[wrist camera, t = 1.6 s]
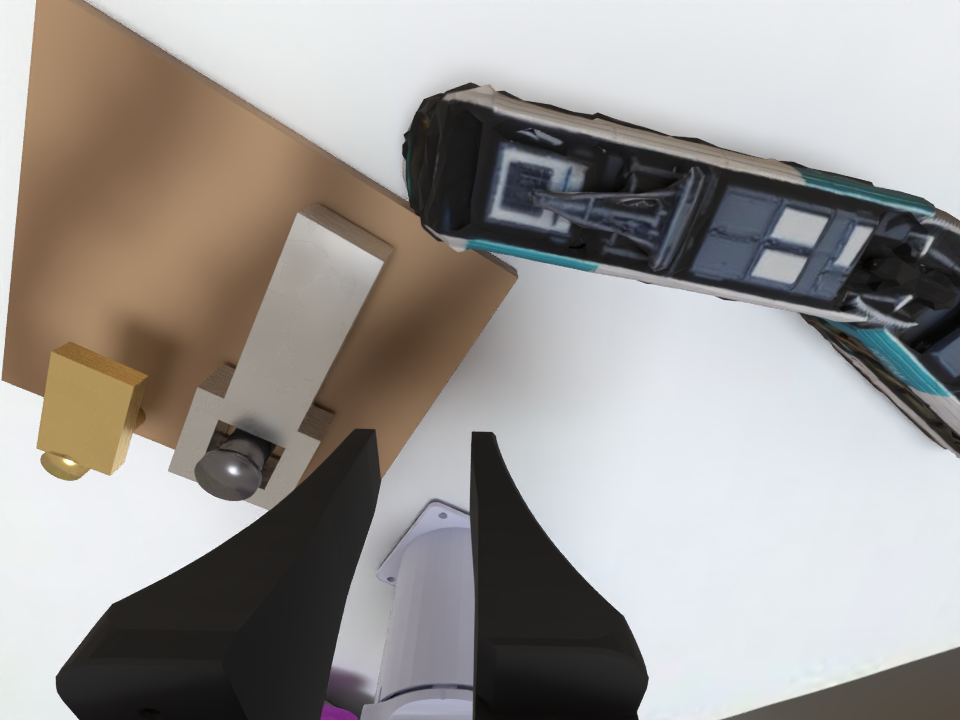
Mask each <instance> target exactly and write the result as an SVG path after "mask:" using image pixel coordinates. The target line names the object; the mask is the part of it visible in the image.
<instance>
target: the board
mask: <svg viewBox="0 0 960 720" xmlns="http://www.w3.org/2000/svg"><path fill="white" fill-rule="evenodd" d="M317 203H318V204H320V205H322V206H323V207H325V208H327V209H328V210H330V211H332V212H334V213H335V214H337V215H339V216H340V217H342V218H344V219H346V220H347V221H349V222H351V223H352V224H354V225H356V226H357V227H359V228H361V229H363V230H364V231H366V232H368V233H369V234H371V235H373V236H375V237H376V238H378V239H380V240H381V241H383V242H385V243H386V244H388V245H390V246H392V247H393V248H394V250H393V252H392V254H391V256H390V258H389V260H388V262H387V263H386V265H385V267H384V269H383V271H382V273H381V275H380V277H379V279H378V281H377V283H376V285H375V287H374V289H373V290H372V292H371V294H370V296H369V298H368V300H367V302H366V304H365V306H364V308H363V310H362V312H361V314H360V316H359V317H358V319H357V321H356V323H355V325H354V327H353V329H352V331H351V333H350V335H349V337H348V339H347V341H346V343H345V344H344V346H343V348H342V350H341V352H340V354H339V356H338V358H337V360H336V362H335V364H334V366H333V368H332V370H331V371H330V373H329V375H328V377H327V379H326V381H325V383H324V385H323V387H322V389H321V391H320V393H319V395H318V397H317V398H316V400H315V402H314V404H313V405H314V406H316V407H318V408H320V409H323V410H325V411H327V412H329V413H331V414H333V415H334V417H333V419H332V421H331V423H330V425H329V427H328V429H327V431H326V433H325V434H324V436H323V438H322V440H321V442H320V444H319V446H318V448H317V449H316V451H315V453H314V455H313V456H312V458H311V460H310V462H309V464H308V465H307V467H306V469H305V471H304V473H303V474H302V476H301V478H300V480H299V482H298V483H297V485H296V487H297V486H298V485H299V484H301V483H302V482H303V481H304V480H305V479H306V478H307V477H308V476H309V475H310V474H311V473H312V472H313V471H314V470H315V469H316V468H317V467H318V466H319V465H320V464H321V463H322V462H323V461H324V460H325V459H326V458H327V457H328V456H329V455H330V454H331V453H332V452H333V451H334V450H335V449H336V448H337V447H338V446H339V445H340V444H341V443H342V441H343V440H344V439H345V438H346V437H347V436H348V435H349V434H350V433H351V432H352V431H353V430H354V429H355V428H357V429H376V438H377V447H378V456H379V465H380V474H381V479H382V477H383V476H384V475H385V473H386V472H387V470H388V469H389V467H390V466H391V464H392V463H393V461H394V460H395V458H396V457H397V455H398V454H399V452H400V451H401V449H402V448H403V447H404V445H405V444H406V442H407V441H408V439H409V438H410V436H411V435H412V433H413V432H414V430H415V429H416V427H417V426H418V424H419V423H420V422H421V420H422V419H423V417H424V416H425V414H426V413H427V411H428V410H429V408H430V407H431V405H432V404H433V402H434V401H435V399H436V398H437V397H438V395H439V394H440V392H441V391H442V389H443V388H444V386H445V385H446V383H447V382H448V380H449V379H450V377H451V376H452V374H453V373H454V372H455V370H456V369H457V367H458V366H459V364H460V363H461V361H462V360H463V358H464V357H465V355H466V354H467V352H468V351H469V349H470V348H471V346H472V345H473V344H474V342H475V341H476V339H477V338H478V336H479V335H480V333H481V332H482V330H483V329H484V327H485V326H486V324H487V323H488V321H489V320H490V319H491V317H492V316H493V314H494V313H495V311H496V310H497V308H498V307H499V305H500V304H501V302H502V301H503V299H504V298H505V296H506V295H507V294H508V292H509V291H510V289H511V288H512V286H513V285H514V283H515V282H516V280H517V279H518V275H517V271H516V269H514V268H513V267H511V266H510V265H508V264H506V263H505V262H503V261H502V260H500V259H498V258H497V257H495V256H494V255H492V254H490V253H489V252H487V251H484V250H477V249H469V250H465V251H462V252H457V251H455V250H454V249H452V248H451V247H450V246H448V245H447V244H446V243H445V242H439V241H437V240H436V239H434V238H433V237H432V236H431V235H430V234H429V233H427V232H426V231H425V230H424V229H423V228H422V226H421V220H420V217H419V216H417V215H415V211H414V209H413V208H411V207H410V203H408V202H407V201H405V200H403V199H402V198H400V197H399V196H397V195H395V194H394V193H392V192H391V191H389V190H387V189H386V188H384V187H382V186H381V185H379V184H378V183H376V182H374V181H373V180H371V179H370V178H368V177H366V176H365V175H363V174H362V173H360V172H358V171H357V170H355V169H353V168H352V167H350V166H349V165H347V164H345V163H344V162H342V161H341V160H339V159H337V158H336V157H334V156H333V155H331V154H329V153H328V152H326V151H325V150H323V149H321V148H320V147H318V146H316V145H315V144H313V143H312V142H310V141H308V140H307V139H305V138H304V137H302V136H300V135H299V134H297V133H296V132H294V131H292V130H291V129H289V128H287V127H286V126H284V125H283V124H281V123H279V122H278V121H276V120H275V119H273V118H271V117H270V116H268V115H267V114H265V113H263V112H262V111H260V110H259V109H257V108H255V107H254V106H252V105H250V104H249V103H247V102H246V101H244V100H242V99H241V98H239V97H238V96H236V95H234V94H233V93H231V92H230V91H228V90H226V89H225V88H223V87H221V86H220V85H218V84H217V83H215V82H213V81H212V80H210V79H209V78H207V77H205V76H204V75H202V74H201V73H199V72H197V71H196V70H194V69H193V68H191V67H189V66H188V65H186V64H184V63H183V62H181V61H180V60H178V59H176V58H175V57H173V56H172V55H170V54H168V53H167V52H165V51H164V50H162V49H160V48H159V47H157V46H155V45H154V44H152V43H151V42H149V41H147V40H146V39H144V38H143V37H141V36H139V35H138V34H136V33H135V32H133V31H131V30H130V29H128V28H127V27H125V26H123V25H122V24H120V23H118V22H117V21H115V20H114V19H112V18H110V17H109V16H107V15H106V14H104V13H102V12H101V11H99V10H98V9H96V8H94V7H93V6H91V5H89V4H88V3H86V2H85V1H83V0H36V10H35V21H34V32H33V43H32V54H31V64H30V75H29V86H28V97H27V108H26V119H25V130H24V141H23V152H22V162H21V173H20V184H19V195H18V206H17V217H16V228H15V239H14V250H13V261H12V271H11V282H10V293H9V304H8V315H7V326H6V337H5V348H4V359H3V369H2V381H5V382H7V383H10V384H12V385H15V386H17V387H20V388H22V389H25V390H27V391H30V392H32V393H35V394H37V395H40V396H42V397H44V395H45V389H46V382H47V375H48V369H49V362H50V356H51V351H53V350H55V349H57V348H59V347H61V346H62V345H64V344H66V343H68V342H73V343H75V344H77V345H80V346H82V347H84V348H86V349H89V350H91V351H93V352H96V353H98V354H100V355H102V356H105V357H107V358H109V359H112V360H114V361H116V362H119V363H121V364H123V365H125V366H128V367H130V368H132V369H135V370H137V371H139V372H141V373H144V374H146V375H148V376H149V377H148V381H147V384H146V388H145V391H144V395H143V398H142V402H141V405H140V407H141V408H142V409H143V410H144V412H145V415H146V420H145V422H144V423H143V424H142V425H141V426H140V427H138V428H137V429H136V430H135V431H134V432H133V433H135V434H137V435H140V436H142V437H145V438H147V439H150V440H152V441H155V442H157V443H160V444H162V445H165V446H167V447H170V448H172V449H176V446H177V444H178V441H179V438H180V435H181V432H182V429H183V427H184V424H185V421H186V418H187V415H188V412H189V410H190V407H191V404H192V401H193V398H194V395H195V393H196V390H197V387H198V386H199V385H200V384H201V383H203V382H204V381H205V380H206V379H207V378H208V377H209V376H210V375H211V374H213V373H214V372H215V371H216V370H217V369H218V368H219V367H220V366H221V365H222V364H225V365H227V366H229V367H232V368H234V369H236V367H237V365H238V362H239V360H240V357H241V355H242V352H243V349H244V347H245V344H246V342H247V339H248V337H249V334H250V332H251V329H252V327H253V324H254V322H255V319H256V316H257V314H258V311H259V309H260V306H261V304H262V301H263V299H264V296H265V294H266V291H267V289H268V286H269V284H270V281H271V278H272V276H273V273H274V271H275V268H276V266H277V263H278V261H279V258H280V256H281V253H282V251H283V248H284V245H285V243H286V240H287V238H288V235H289V233H290V230H291V228H292V225H293V223H294V220H295V218H296V215H297V212H299V211H302V210H304V209H306V208H308V207H311V206H313V205H315V204H317ZM236 428H237V427H234V426H232V425H230V424H229V426H228V428H227V431H226V433H225V436H224V437H225V438H228V437H229V436H230V435H231V434H232V432H233V431H234V430H235V429H236ZM285 449H286V448H284V447H281V446H279V445H277V446H276V448H275V450H274V451H273V453H272V454H271V456H270V457H273V458H275V459H277V460H280V458H281V456H282V454H283V452H284V451H285ZM296 487H295V488H296Z"/></svg>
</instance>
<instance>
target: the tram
mask: <svg viewBox="0 0 960 720" xmlns="http://www.w3.org/2000/svg"><path fill="white" fill-rule="evenodd" d="M404 137H405V143H404V144H403V149H402V155H403V157H404V160H403V177H404V180H405V183H406V186H407V190H408V196H409V201H410V207H411V208H413V209H414V211H415V215H417V216H419V217H420V220H421V226H422V228H423V229H424V230H425V231H426V232H427V233H429V234H430V235H431V236H432V237H433V238H434V239H436V240H437V241H439V242H445V243H446V244H447V245H448V246H450V247H451V248H452V249H454V250H455V251H457V252H462V251H465V250H469V249H477V250H484V251H490V252H495V253H500V254H506V255H511V256H515V257H520V258H524V259H529V260H533V261H538V262H543V263H549V264H554V265H559V266H564V267H569V268H573V269H578V270H582V271H587V272H592V273H598V274H604V275H610V276H615V277H621V278H627V279H633V280H637V281H640V282H643V283H646V284H655V285H659V286H664V287H670V288H677V289H682V290H687V291H692V292H697V293H703V294H708V295H713V296H716V297H718V298H721V299H723V300H730V301H742V302H746V303H751V304H756V305H761V306H766V307H771V308H777V309H783V310H788V311H794V312H799V313H800V314H801V315H802V317H803V318H804V319H805V320H806V321H807V322H808V323H809V324H810V325H812V326H813V327H815V328H816V329H817V330H818V331H819V332H820V333H821V334H822V335H823V336H824V338H825V339H827V340H829V341H830V342H831V344H832V346H833V347H834V348H835V349H836V350H837V351H838V352H839V353H840V354H841V355H842V356H843V357H844V358H845V359H846V360H847V361H848V362H849V363H850V364H851V365H852V366H853V367H855V368H856V369H857V370H858V371H859V372H860V374H862V375H863V376H864V377H865V378H866V379H867V380H868V381H870V382H871V383H872V385H873V386H874V387H875V388H876V389H878V390H879V391H881V392H882V393H883V394H885V395H886V396H887V397H888V398H889V399H890V400H891V401H892V402H893V403H894V404H895V405H896V406H897V407H898V408H899V410H900V411H901V412H903V413H904V414H905V415H906V416H907V417H908V418H909V419H910V420H911V421H912V422H913V423H914V424H915V425H916V426H917V427H918V428H919V429H920V430H921V431H922V432H923V433H924V434H926V435H927V436H928V437H929V438H930V439H932V440H933V441H934V442H936V443H937V444H938V445H940V446H941V447H942V448H944V449H949V450H950V451H951V452H953V453H955V455H956V457H957V458H960V220H958V219H956V218H955V217H953V216H952V215H950V214H948V213H946V212H944V211H942V210H940V209H937V208H935V206H934V205H933V204H932V203H930V202H928V201H927V200H925V199H924V198H921V197H918V196H914V195H911V194H907V193H904V192H900V191H895V190H890V189H885V188H879V187H874V186H873V184H872V182H869V181H865V180H861V179H857V178H853V177H849V176H845V175H840V174H836V173H832V172H826V171H821V170H816V169H811V168H807V167H805V166H802V165H800V164H797V163H795V162H787V161H777V160H775V159H763V158H759V157H755V156H751V155H747V154H743V153H739V152H735V151H731V150H727V149H723V148H719V147H717V146H715V145H712V144H710V143H708V142H705V141H703V140H701V139H698V138H688V137H677V136H670V135H667V134H663V133H660V132H657V131H654V130H651V129H648V128H645V127H641V126H638V125H634V124H631V123H627V122H624V121H620V120H617V119H614V118H611V117H608V116H605V115H603V114H600V113H596V114H593V115H591V114H584V113H577V112H572V111H569V110H565V109H562V108H559V107H556V106H553V105H549V104H543V103H536V102H530V101H523V100H521V99H519V98H517V97H515V96H513V95H511V94H509V93H507V92H506V91H495V90H494V89H493V88H492V87H491V86H490V85H485V86H481V87H480V86H478V85H476V84H473V83H468V84H465V85H462V86H460V87H457V88H454V89H451V90H449V91H446V92H445V93H439V94H437V95H434V96H431V97H428V98H426V99H424V100H423V102H422V104H421V105H420V107H419V109H418V110H417V111H416V114H415V116H414V118H413V121H412V123H411V125H410V127H409V129H408V131H407V132H406V133H405V134H404Z"/></svg>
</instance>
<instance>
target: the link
mask: <svg viewBox="0 0 960 720" xmlns="http://www.w3.org/2000/svg"><path fill="white" fill-rule="evenodd" d="M393 250H394V248H393V247H392V246H390V245H388V244H386V243H385V242H383V241H381V240H380V239H378V238H376V237H375V236H373V235H371V234H369V233H368V232H366V231H364V230H363V229H361V228H359V227H357V226H356V225H354V224H352V223H351V222H349V221H347V220H346V219H344V218H342V217H340V216H339V215H337V214H335V213H334V212H332V211H330V210H328V209H327V208H325V207H323V206H322V205H320V204H318V203H317V204H315V205H313V206H311V207H308V208H306V209H304V210H302V211H299V212H297V215H296V218H295V220H294V223H293V225H292V228H291V230H290V233H289V235H288V238H287V240H286V243H285V245H284V248H283V251H282V253H281V256H280V258H279V261H278V263H277V266H276V268H275V271H274V273H273V276H272V278H271V281H270V284H269V286H268V289H267V291H266V294H265V296H264V299H263V301H262V304H261V306H260V309H259V311H258V314H257V316H256V319H255V322H254V324H253V327H252V329H251V332H250V334H249V337H248V339H247V342H246V344H245V347H244V349H243V352H242V355H241V357H240V360H239V362H238V365H237V367H236V369H234V368H232V367H229V366H227V365H225V364H222V365H221V366H220V367H219V368H218V369H217V370H216V371H215V372H214V373H213V374H211V375H210V376H209V377H208V378H207V379H206V380H205V381H204V382H203V383H201V384H200V385H199V386H198V387H197V390H196V393H195V395H194V398H193V401H192V404H191V407H190V410H189V412H188V415H187V418H186V421H185V424H184V427H183V429H182V432H181V435H180V438H179V441H178V444H177V446H176V449H175V452H174V455H173V458H172V461H171V463H170V466H169V469H168V471H169V472H172V473H174V474H177V475H179V476H182V477H185V478H187V479H190V480H192V481H195V482H197V480H196V478H195V474H194V469H195V466H196V464H197V463H198V462H199V460H200V459H201V458H202V457H203V456H204V455H205V454H206V453H208V452H209V451H212V450H215V449H219V448H220V447H221V446H222V445H223V443H224V442H225V441H226V440H227V438H225V437H224V436H225V433H226V431H227V428H228V426H229V424H230V425H232V426H234V427H237V428H239V429H241V430H244V431H246V432H249V433H251V434H253V435H256V436H258V437H260V438H263V439H265V440H267V441H270V442H272V443H274V444H277V445H279V446H281V447H284V448H286V449H285V451H284V452H283V454H282V456H281V458H280V460H277V459H275V458H273V457H269V459H268V460H267V462H266V463H265V465H264V466H263V468H262V470H261V474H262V481H261V484H260V486H259V487H258V489H257V490H256V492H255V493H254V494H253V495H252V496H251V497H249V498H248V499H245V500H244V501H247V502H249V503H252V504H254V505H257V506H260V507H262V508H265V509H267V510H271V509H272V508H273V507H274V506H276V505H277V504H278V503H279V502H280V501H282V500H283V499H284V498H285V497H286V496H287V495H288V494H290V493H291V492H292V491H293V490H294V489H295V487H296V485H297V483H298V482H299V480H300V478H301V476H302V474H303V473H304V471H305V469H306V467H307V465H308V464H309V462H310V460H311V458H312V456H313V455H314V453H315V451H316V449H317V448H318V446H319V444H320V442H321V440H322V438H323V436H324V434H325V433H326V431H327V429H328V427H329V425H330V423H331V421H332V419H333V417H334V415H333V414H331V413H329V412H327V411H325V410H323V409H320V408H318V407H316V406H314V405H313V404H314V402H315V400H316V398H317V397H318V395H319V393H320V391H321V389H322V387H323V385H324V383H325V381H326V379H327V377H328V375H329V373H330V371H331V370H332V368H333V366H334V364H335V362H336V360H337V358H338V356H339V354H340V352H341V350H342V348H343V346H344V344H345V343H346V341H347V339H348V337H349V335H350V333H351V331H352V329H353V327H354V325H355V323H356V321H357V319H358V317H359V316H360V314H361V312H362V310H363V308H364V306H365V304H366V302H367V300H368V298H369V296H370V294H371V292H372V290H373V289H374V287H375V285H376V283H377V281H378V279H379V277H380V275H381V273H382V271H383V269H384V267H385V265H386V263H387V262H388V260H389V258H390V256H391V254H392V252H393Z"/></svg>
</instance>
